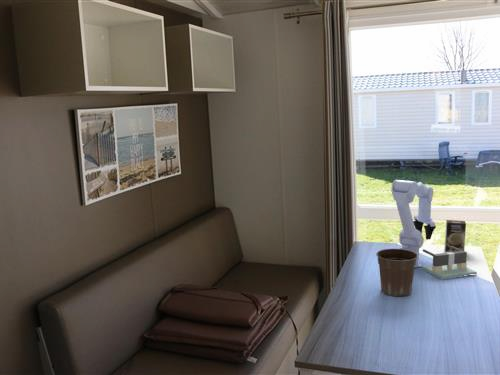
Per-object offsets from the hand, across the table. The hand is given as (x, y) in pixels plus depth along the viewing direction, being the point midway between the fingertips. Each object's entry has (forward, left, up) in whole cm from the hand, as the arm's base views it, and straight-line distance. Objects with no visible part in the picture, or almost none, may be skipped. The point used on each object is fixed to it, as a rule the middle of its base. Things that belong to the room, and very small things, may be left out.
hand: (423, 237), depth 255 cm
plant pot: (-36, -34, -11) cm, 51 cm away
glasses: (-1, -18, -6) cm, 19 cm away
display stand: (-1, -22, -10) cm, 25 cm away
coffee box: (+20, +2, -11) cm, 22 cm away
